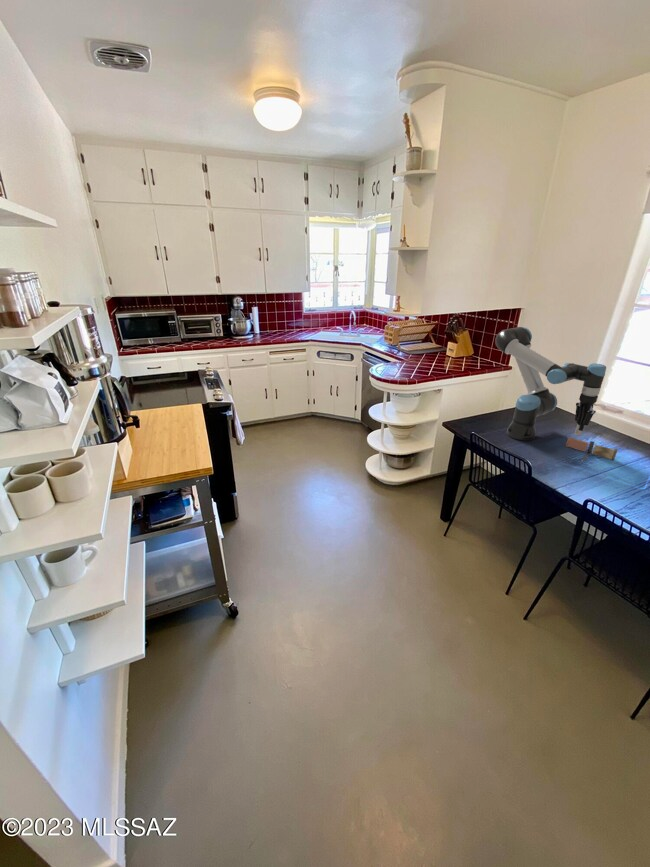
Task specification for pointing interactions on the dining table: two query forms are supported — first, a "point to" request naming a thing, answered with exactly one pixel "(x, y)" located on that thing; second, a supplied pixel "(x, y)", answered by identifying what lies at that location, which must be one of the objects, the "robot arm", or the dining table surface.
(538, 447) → the dining table surface
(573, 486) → the dining table surface
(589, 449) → the fence post and fixed panel
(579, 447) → the hinged fence panel
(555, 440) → the dining table surface
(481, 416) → the dining table surface
